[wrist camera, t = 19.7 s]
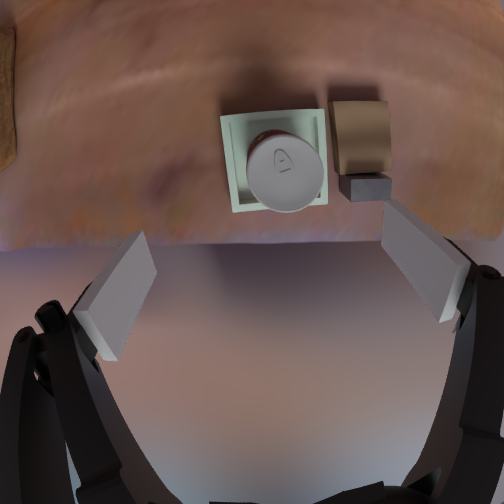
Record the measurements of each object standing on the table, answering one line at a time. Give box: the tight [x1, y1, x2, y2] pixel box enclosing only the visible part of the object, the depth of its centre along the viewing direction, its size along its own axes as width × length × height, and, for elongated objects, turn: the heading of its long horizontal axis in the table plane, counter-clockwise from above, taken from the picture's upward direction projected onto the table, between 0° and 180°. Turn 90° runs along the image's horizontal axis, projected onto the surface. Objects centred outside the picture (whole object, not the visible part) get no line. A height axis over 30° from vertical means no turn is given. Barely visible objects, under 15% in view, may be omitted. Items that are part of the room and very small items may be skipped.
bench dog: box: [339, 172, 392, 202], centre depth 35 cm, size 3×6×5 cm, turn 96°
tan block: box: [328, 101, 392, 175], centre depth 33 cm, size 10×8×3 cm
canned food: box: [246, 129, 324, 213], centre depth 30 cm, size 8×8×11 cm
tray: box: [220, 109, 328, 212], centre depth 34 cm, size 13×13×2 cm
